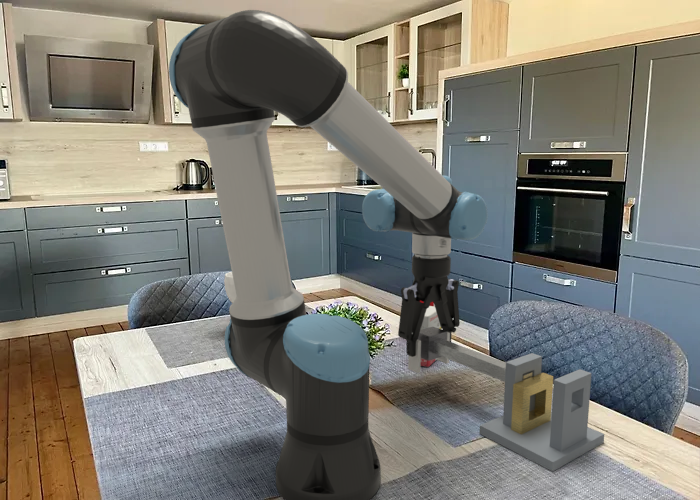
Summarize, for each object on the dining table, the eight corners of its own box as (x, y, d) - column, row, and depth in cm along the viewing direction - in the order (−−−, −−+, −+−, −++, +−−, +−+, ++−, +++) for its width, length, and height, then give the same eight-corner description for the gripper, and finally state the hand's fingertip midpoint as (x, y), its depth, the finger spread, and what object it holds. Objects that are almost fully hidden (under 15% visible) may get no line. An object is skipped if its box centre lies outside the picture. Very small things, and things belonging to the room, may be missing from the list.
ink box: (428, 368, 122) (429, 316, 120) (407, 364, 124) (407, 313, 122) (442, 355, 129) (443, 306, 127) (421, 352, 132) (422, 304, 130)
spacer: (521, 434, 90) (523, 388, 89) (511, 429, 92) (513, 384, 91) (550, 420, 95) (553, 376, 94) (540, 416, 97) (543, 372, 95)
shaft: (517, 398, 92) (518, 370, 91) (414, 354, 112) (415, 331, 111) (535, 390, 95) (537, 363, 94) (432, 349, 115) (433, 326, 114)
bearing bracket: (552, 471, 83) (557, 392, 80) (479, 433, 94) (482, 363, 92) (603, 442, 91) (609, 370, 88) (530, 410, 102) (534, 345, 100)
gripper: (405, 264, 100) (403, 384, 104) (481, 251, 111) (477, 360, 115) (378, 257, 106) (378, 371, 110) (453, 246, 117) (450, 350, 121)
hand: (428, 365), depth 113 cm, fingers open, 7 cm apart
